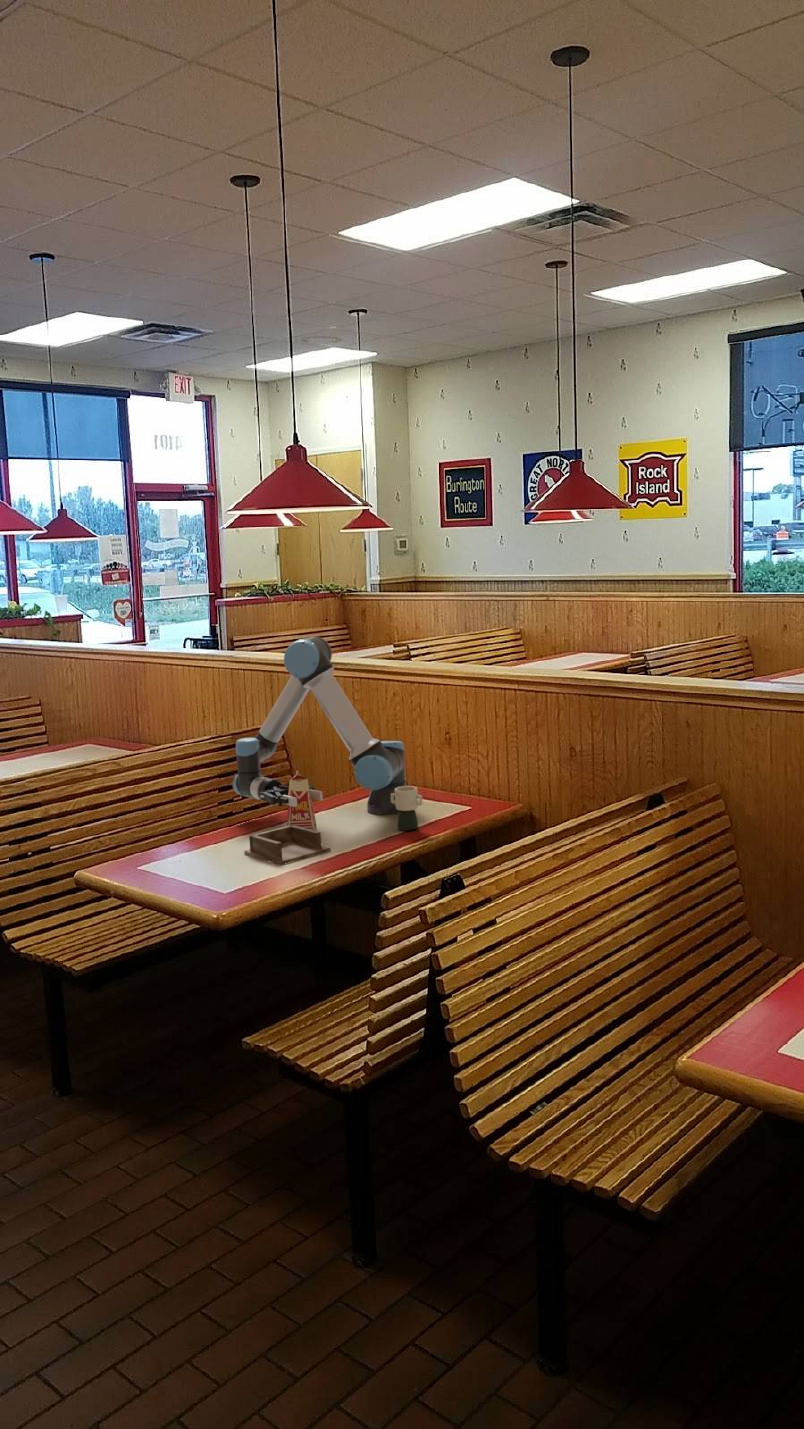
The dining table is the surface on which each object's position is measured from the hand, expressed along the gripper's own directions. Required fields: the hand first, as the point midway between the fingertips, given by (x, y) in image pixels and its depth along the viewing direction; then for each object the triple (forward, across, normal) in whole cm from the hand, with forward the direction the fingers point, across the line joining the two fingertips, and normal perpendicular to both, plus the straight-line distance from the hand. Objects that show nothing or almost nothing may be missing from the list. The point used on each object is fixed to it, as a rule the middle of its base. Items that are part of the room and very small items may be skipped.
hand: (308, 799), depth 341 cm
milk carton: (-5, 0, -11) cm, 12 cm away
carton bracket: (+11, +17, -11) cm, 23 cm away
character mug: (+20, -22, -11) cm, 32 cm away
